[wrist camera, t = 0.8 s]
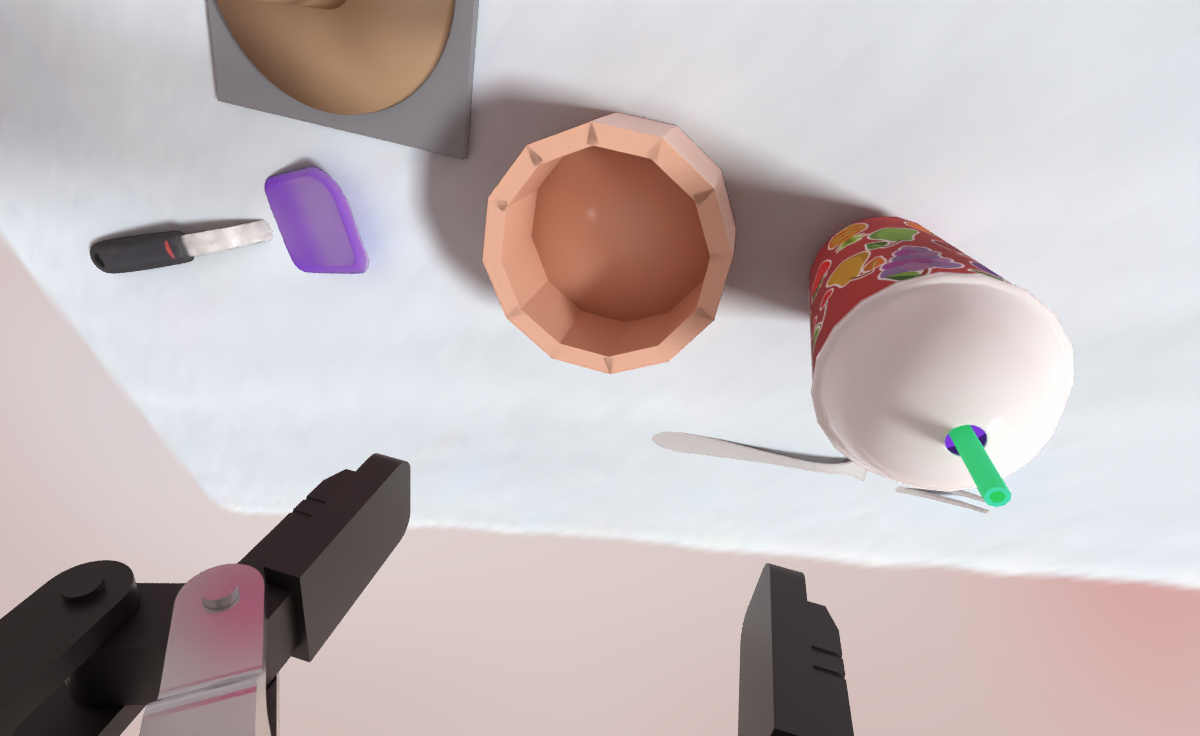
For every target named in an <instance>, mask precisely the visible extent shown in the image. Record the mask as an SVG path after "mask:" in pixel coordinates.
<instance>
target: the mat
mask: <svg viewBox="0 0 1200 736" xmlns="http://www.w3.org/2000/svg"><path fill="white" fill-rule="evenodd" d="M478 3H479V0H456V2H455V11H454V18H453V23H452V27H451V31H450V36H449V38H448V41H447V44H446V47H445V50H444V52H443V54H442V56H441V58H440V60H439V62H438V64H437V66H436V68H435V69H434V71H433V72H432V73H431V75H430V76H429V78H428V79H427V81H426V82H425V83H424V84H423V85H422V86H421V87H420V88H419V89H418V90H417V91H416V92H415V93H414V94H412V95H411V96H410V97H408V98H407V99H406V100H404V101H402V102H401V103H399V104H397V105H395V106H393V107H391V108H388V109H385V110H382V111H379V112H372V113H366V114H359V115H339V114H333V113H327V112H324V111H320V110H317V109H314V108H311V107H309V106H307V105H305V104H303V103H301V102H298V101H297V100H295V99H294V98H292V97H290V96H289V95H287V94H286V93H284V92H283V91H282V90H280V89H279V88H278V87H276V86H275V85H274V84H273V83H271V82H270V81H269V80H268V79H267V78H266V77H265V76H264V75H263V74H262V73H261V72H260V71H259V70H258V69H257V68H256V66H255V65H254V64H253V63H252V62H251V60H250V59H249V58H248V57H247V56H246V54H245V53H244V51H243V50H242V48H241V47H240V45H239V44H238V42H237V41H236V39H235V38H234V36H233V34H232V32H231V31H230V29H229V27H228V25H227V23H226V21H225V19H224V17H223V15H222V12H221V10H220V8H219V6H218V3H217V0H207V4H208V13H209V22H210V31H211V40H212V49H213V58H214V67H215V76H216V85H217V94H218V101H222V102H226V103H230V104H234V105H238V106H243V107H247V108H251V109H255V110H259V111H263V112H268V113H272V114H276V115H280V116H284V117H289V118H293V119H297V120H301V121H305V122H310V123H314V124H318V125H322V126H326V127H331V128H335V129H339V130H343V131H347V132H351V133H356V134H360V135H364V136H368V137H372V138H377V139H381V140H385V141H389V142H393V143H398V144H402V145H406V146H410V147H414V148H419V149H423V150H427V151H431V152H435V153H439V154H444V155H448V156H452V157H456V158H460V159H465V158H467V152H468V139H469V125H470V112H471V98H472V85H473V71H474V58H475V44H476V30H477V17H478Z"/></svg>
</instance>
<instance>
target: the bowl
mask: <svg viewBox="0 0 1200 736" xmlns="http://www.w3.org/2000/svg"><path fill="white" fill-rule="evenodd" d="M735 234H736V226H735V222H734V219H733V215H732V211H731V207H730V203H729V199H728V195H727V191H726V187H725V183H724V179H723V175H722V172H721V169H720V168H719V167H718V166H717V165H716V164H715V163H714V162H713V161H712V160H711V159H710V158H709V157H708V156H707V155H706V154H705V153H704V152H703V151H702V150H701V149H700V148H699V147H698V146H697V145H696V144H695V143H694V142H693V141H692V140H691V139H690V138H689V137H688V136H687V135H686V134H685V133H684V132H683V131H682V130H681V129H680V128H679V127H677V126H676V125H671V124H667V123H662V122H658V121H653V120H649V119H644V118H640V117H635V116H631V115H626V114H622V113H618V112H615V113H613V114H610V115H607V116H604V117H601V118H598V119H595V120H592V121H590V122H588V123H585V124H583V125H580V126H577V127H574V128H572V129H569V130H566V131H564V132H561V133H558V134H556V135H553V136H550V137H547V138H545V139H542V140H539V141H536V142H533V143H530V144H528V145H526V147H525V148H524V150H523V151H522V152H521V154H520V155H519V156H518V158H517V159H516V161H515V162H514V163H513V165H512V166H511V167H510V169H509V170H508V171H507V173H506V174H505V175H504V177H503V178H502V180H501V181H500V182H499V184H498V185H497V186H496V188H495V189H494V190H493V192H492V193H491V195H490V196H489V197H488V205H487V216H486V227H485V238H484V249H483V259H482V261H483V263H484V266H485V268H486V270H487V273H488V275H489V278H490V280H491V282H492V285H493V287H494V290H495V292H496V294H497V297H498V299H499V302H500V304H501V306H502V309H503V311H504V314H505V316H506V318H507V319H508V320H509V321H510V322H512V323H513V324H514V325H515V326H516V327H517V328H518V329H519V330H521V331H522V332H523V333H524V334H525V335H526V336H527V337H529V338H530V339H531V340H532V341H533V342H534V343H535V344H537V345H538V346H539V347H540V348H541V349H542V350H543V351H545V352H546V353H547V354H548V355H549V356H550V357H551V358H553V359H557V360H560V361H564V362H568V363H571V364H575V365H579V366H582V367H586V368H590V369H593V370H597V371H601V372H604V373H608V374H613V373H617V372H622V371H627V370H631V369H636V368H640V367H645V366H650V365H654V364H659V363H663V362H668V361H669V360H670V359H672V358H673V357H674V356H675V355H676V354H677V353H678V352H679V351H680V350H682V349H683V348H684V347H685V346H686V345H687V344H688V343H689V342H690V341H692V340H693V339H694V338H695V337H696V336H697V335H698V334H699V333H700V332H701V331H703V330H704V329H705V328H706V327H707V326H708V325H709V324H710V323H711V322H713V321H714V319H715V315H716V312H717V308H718V305H719V301H720V298H721V295H722V291H723V288H724V285H725V281H726V278H727V275H728V271H729V268H730V265H731V261H732V258H733V252H734V243H735Z"/></svg>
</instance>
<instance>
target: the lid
mask: <svg viewBox="0 0 1200 736" xmlns="http://www.w3.org/2000/svg"><path fill="white" fill-rule="evenodd" d="M455 2H456V0H217V3H218V6H219V8H220V10H221V12H222V15H223V17H224V19H225V21H226V23H227V25H228V27H229V29H230V31H231V32H232V34H233V36H234V38H235V39H236V41H237V42H238V44H239V45H240V47H241V48H242V50H243V51H244V53H245V54H246V56H247V57H248V58H249V59H250V60H251V62H252V63H253V64H254V65H255V66H256V68H257V69H258V70H259V71H260V72H261V73H262V74H263V75H264V76H265V77H266V78H267V79H268V80H269V81H270V82H271V83H273V84H274V85H275V86H276V87H278V88H279V89H280V90H282V91H283V92H284V93H286V94H287V95H289V96H290V97H292V98H294V99H295V100H297V101H298V102H301V103H303V104H305V105H307V106H309V107H311V108H314V109H317V110H320V111H324V112H327V113H333V114H339V115H359V114H366V113H372V112H379V111H382V110H385V109H388V108H391V107H393V106H395V105H397V104H399V103H401V102H402V101H404V100H406V99H407V98H408V97H410V96H411V95H412V94H414V93H415V92H416V91H417V90H418V89H419V88H420V87H421V86H422V85H423V84H424V83H425V82H426V81H427V79H428V78H429V76H430V75H431V73H432V72H433V71H434V69H435V68H436V66H437V64H438V62H439V60H440V58H441V56H442V54H443V52H444V50H445V47H446V44H447V41H448V38H449V36H450V31H451V27H452V23H453V18H454V11H455Z"/></svg>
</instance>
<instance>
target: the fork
mask: <svg viewBox="0 0 1200 736" xmlns="http://www.w3.org/2000/svg"><path fill="white" fill-rule="evenodd" d="M652 440H653V441H654V442H655V443H656V444H658V445H659V446H661V447H663V448H666V449H670V450H673V451H677V452H685V453H693V454H701V455H708V456H715V457H723V458H732V459H740V460H748V461H755V462H762V463H768V464H775V465H781V466H786V467H792V468H797V469H803V470H809V471H815V472H822V473H832V474H844V475H850V476H853V477H856V478H858V479H860V480H862V481H863V480H864V479H865V476H866V472H867V470H865V469H863V468H860V467H859V466H858V465H856V464H855V463H854V462H852V461H848V462H844V463H837V464H826V463H817V462H811V461H806V460H801V459H796V458H792V457H787V456H783V455H778V454H774V453H770V452H766V451H762V450H758V449H755V448H751V447H747V446H743V445H739V444H735V443H731V442H727V441H724V440H719V439H715V438H710V437H704V436H699V435H693V434H687V433H682V432H663V433H660V434H657V435H655V436H653V437H652ZM977 489H978V488H977ZM895 490H896V492H900V493H905V494H911V495H916V496H921V497H925V498H929V499H933V500H937V501H941V502H945V503H949V504H953V505H957V506H961V507H965V508H969V509H972V510H976V511H980V512H983V513H989V510H986V509H983V508H980V507H977V506H974V505H971V504H968V503H965V502H962V501H959V500H955V499H951V498H947V497H943V496H940V495H936V494H932V493H928V492H924V491H920V490H916V489H911V488H903V487H902V486H900V487H897V488H896V489H895ZM949 493H953V494H957V495H961V496H965V497H968V498H972V499H975V500H979V501H982V502H985V501H984V499H983V497H980V496H977V495H975V494H972V493H969V492H966V491H963V490H957V491H949Z"/></svg>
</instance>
